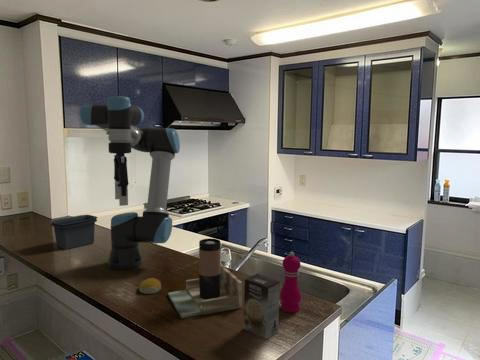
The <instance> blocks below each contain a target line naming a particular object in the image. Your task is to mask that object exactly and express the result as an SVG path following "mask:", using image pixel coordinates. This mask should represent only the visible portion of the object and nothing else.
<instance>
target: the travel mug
mask: <svg viewBox="0 0 480 360" xmlns="http://www.w3.org/2000/svg"><path fill="white" fill-rule="evenodd" d="M198 242H199V243H198V244H199V245H198V246H199V247H198V248H199V249H198V273H199V274H198V278H199V287H200V297H201V298H202V299H205V300H207V299H213V298H218V297H219V296H220V275H221V264H222V263H221V261H222V260H221V254H222V253H221V240H220V239H218V238H203V239H200V240H199V241H198Z"/></svg>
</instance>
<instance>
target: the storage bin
mask: <svg viewBox="0 0 480 360" xmlns="http://www.w3.org/2000/svg"><path fill="white" fill-rule="evenodd" d="M96 222H98V216H95V215H91V214H81V215H80V214H79V215H76V216H75V215H74V216H70V217H69V216H68V217H63V218H58V219H53V220H50V224H51V227H53V229H54V237H55V241H56V247H57V248H59V247H60V249H61V248H62V249H61V250H64V249H67V250H70V248H71V249H74V248H77V247H79V248H80V247H82V246H86V245H90V244H94V242H95V228H96V227H95V226H96Z"/></svg>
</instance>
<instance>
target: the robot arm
mask: <svg viewBox="0 0 480 360" xmlns="http://www.w3.org/2000/svg"><path fill="white" fill-rule="evenodd" d="M79 116H80V120H81V122H82V124H84V125H86V126H91V127H92V126H97V127H98V128H100V129H102V130H103V131H105V132H106V135H108V141H110V142H108V153H109V154H114V155H113V163H114V164H113V166H114V167H113V168H114V171H113V172H114V174H113V175H114V177H113V179H114V197H115V198H114V199H115V200H118V201H119V203H118V204H119V206H120V207H121V206H123V207H124V206H125V207H126V206H129V189H128V188H129V175H128V173H129V172H128V165H127V164H128V158H127V156H125V154H131V153H132V149H133V150H135V151H137V152H142V153H149V155H150V156H149V157H150V158H152V160H151V169H150V176H149V177H150V179H149V184H148V185H149V186H148V195H147V204H146V209H145V210H143V211H142V216H139V214H138V212H135V211H133V212H131V211H130V212H123V213H119V214H116V215H113V216H112V217H111V219H110V241H111V244H110V245H111V248H110V252H109V255H108V259H107V267H108V268H110V269H113V270H131V269H135V268H137V267H140V266H142V265H143V262H144V261H143V256H142V253H141V249H140V247H139V243H140V244H141V243H142V244H144V243H145V244H156V245H157V244H165V243H166V242H168V241H169V239H170V237H171V234H172V230H173V219H172V218H171V217H170V214H169V212H168V211H167V205H168V195H169V194H168V193H169V184H170V183H169V182H170V174H171V166H172V165H171V163H172V160H174V159H175V157H176V154H179V152H180V147H181V145H180V143H181V142H180V137H179V134H178V131H177V130H176V129H175V128H171V127H170V128H169V127H137V126H139V125H141V124H142V123H143V122H144V119H145V111H143V110H142V108H141V107H140V106H137V105H136V104H135V105H134V104H131V99H130V97H128V96H123V95H112V96H108V98H107V104H93V103H92V104H87V105H83V106H82V107H81V109H80V115H79Z"/></svg>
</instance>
